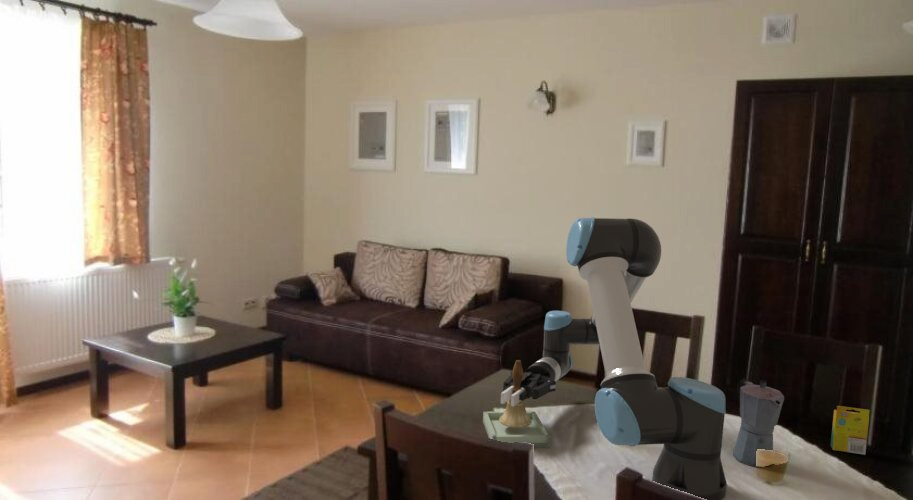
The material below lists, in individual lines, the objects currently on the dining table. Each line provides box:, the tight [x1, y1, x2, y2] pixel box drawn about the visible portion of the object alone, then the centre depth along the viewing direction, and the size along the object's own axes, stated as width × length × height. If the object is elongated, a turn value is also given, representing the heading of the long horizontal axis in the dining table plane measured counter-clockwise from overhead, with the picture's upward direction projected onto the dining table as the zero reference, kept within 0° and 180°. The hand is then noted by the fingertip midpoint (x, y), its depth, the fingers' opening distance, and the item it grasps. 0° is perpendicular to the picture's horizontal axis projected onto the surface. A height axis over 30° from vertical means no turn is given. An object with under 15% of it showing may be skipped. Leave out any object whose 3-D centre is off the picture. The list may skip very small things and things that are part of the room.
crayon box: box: [830, 405, 871, 456], centre depth 161 cm, size 7×3×12 cm, turn 70°
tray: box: [482, 411, 550, 449], centre depth 164 cm, size 16×14×3 cm
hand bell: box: [499, 359, 532, 428], centre depth 163 cm, size 8×8×16 cm
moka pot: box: [732, 377, 785, 468], centre depth 154 cm, size 10×15×20 cm, turn 15°
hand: (507, 399), depth 158 cm, fingers closed on hand bell, 2 cm apart
